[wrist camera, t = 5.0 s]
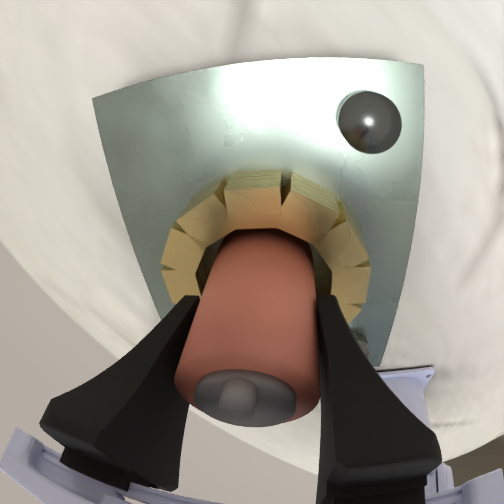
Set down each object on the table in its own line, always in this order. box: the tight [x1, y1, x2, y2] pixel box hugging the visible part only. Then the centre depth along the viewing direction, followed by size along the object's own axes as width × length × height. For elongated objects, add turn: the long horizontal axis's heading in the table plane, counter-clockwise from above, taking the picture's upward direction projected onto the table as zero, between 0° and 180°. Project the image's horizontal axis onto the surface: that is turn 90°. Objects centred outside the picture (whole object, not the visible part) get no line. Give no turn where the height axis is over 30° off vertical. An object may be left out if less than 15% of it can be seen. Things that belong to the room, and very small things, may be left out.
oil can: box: [174, 228, 320, 427], centre depth 11 cm, size 4×4×8 cm
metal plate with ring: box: [92, 58, 424, 367], centre depth 15 cm, size 18×14×5 cm
